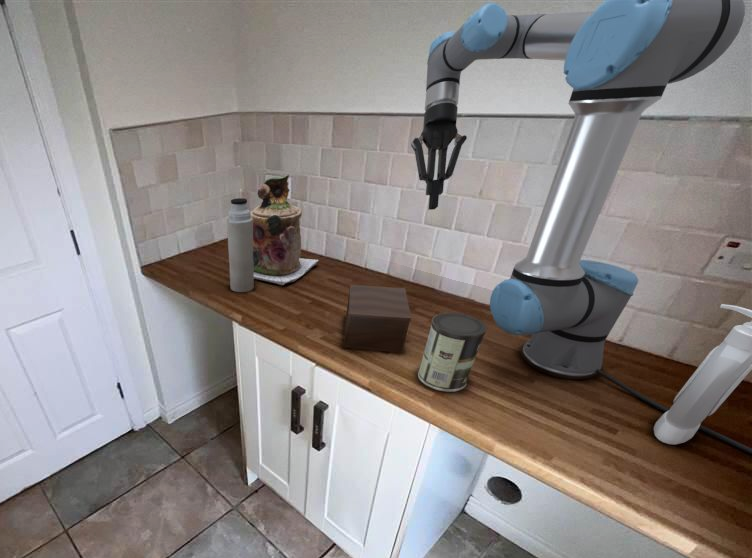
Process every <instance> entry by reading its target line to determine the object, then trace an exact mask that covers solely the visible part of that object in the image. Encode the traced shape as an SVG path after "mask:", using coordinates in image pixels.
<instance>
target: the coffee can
mask: <svg viewBox="0 0 752 558" xmlns="http://www.w3.org/2000/svg"><path fill="white" fill-rule="evenodd" d="M487 330H488V327H487V325H486V323H485V322H484V321H482V320H481V319H479V318H477V317H474V316H471V315H468V314H464V313H457V312H443V313H438V314H436V315H435V316H433V317H432V319H431V326H430V329H429V332H428V337H427V340H426V343H425V348H424V352H423V355H422V359H421V361H420V366H419V369H418V372H417V377H418V380H419V381H420V382H421V383H422V384H423V385H425V386H427V387H429V388H430V389H432V390H436V391H440V392H447V393H452V392H454V393H455V392H459V391H462V390H463V389H464V388H466V386H467V383H468V380H469V377H470V374H471V371H472V368H473V366H474V363H475V360H476V358H477V355H478V352H479V349H480V347H481V344H482V341H483V339H484V336H485V334H486V333H487Z"/></svg>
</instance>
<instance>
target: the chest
mask: <svg viewBox="0 0 752 558" xmlns="http://www.w3.org/2000/svg"><path fill="white" fill-rule="evenodd" d="M349 295H350V290H349V291H348V296H349ZM347 300H348V301H347V307H346V314H345V323H344V338H343V348H344V349H351V350H352V349H353V350H365V351H374V352H385V353H395V354H403V351H404V347H405V342H406V338H407V333H408V330H409V326H410V322H411V321H404V320H391V319H378V318H365V317H352V316H348V310H349V298H348V299H347Z"/></svg>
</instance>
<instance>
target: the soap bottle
mask: <svg viewBox="0 0 752 558" xmlns="http://www.w3.org/2000/svg"><path fill="white" fill-rule="evenodd" d="M719 308H720V309H727V310H731V311H735V312H738V313H740V314H742V315H744V316H747V317H749V318H751V319H752V309H748V308H745V307H742V306H738V305H732V304H725V303H721V304H720V306H719ZM751 371H752V320H750V321H748V322H744V323H742V324H738V325H734V326H733V328H731V330H730V331H729V332H728V334H727V335H726V336H725V337H724V339H723V341H722V342H721V343H720V344H719V345H717V346H715V347H714V348H713V349H711V350H710V351H709V353H708V354H707V355H706V356H705V358H704V359H703V360H702V361H701V363H700V364H699V365H698V366H697V368H696V370H695V371H694V372H693V373H692V375H691V376H690V377H689V378H688V380H687V381H686V382H685V384H684V385H683V386H682V388H681V389H680V390H679V391H678V393H677V394H676V396H675V397H674V398H673V402H672V403H673V404H672V405H671V407H670V408H669V411H667V412H664V413H663V414H662V415H661V416H660V417H659V418H658V419H657V421H655V423H654V426H653V434H654V436H655V437H656V439H657V440H658V441H660V442H662V443H664V444H667V445H680V444H683V443H686V442H688V441H690V440H691V439H692V438H693V437H694V436H695V434H696V433H697V432H698V430H699V427H700V425H702V422H703V421H704V420H705V419H706V418H707V416H708V417H710V416H711V415H713V414H714V413H715V412H717V410H718V409H719V408H720V406H721V405H722V404H723V403H725V401H726V400H727V399H728V397H729V396H730V395H731V394H732V393H733V392H734V390H735V389H736V388H737V387H738V386H739V385H740V384H741V383H742V381H743V380H744V379H745V378H746V377H747V376H748V374H749V373H750V372H751Z"/></svg>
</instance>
